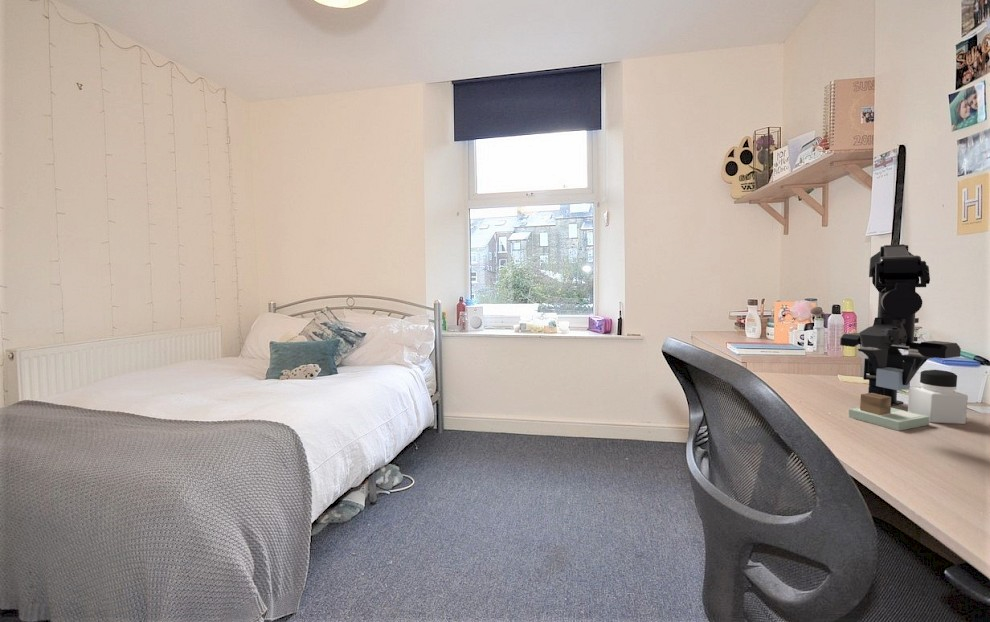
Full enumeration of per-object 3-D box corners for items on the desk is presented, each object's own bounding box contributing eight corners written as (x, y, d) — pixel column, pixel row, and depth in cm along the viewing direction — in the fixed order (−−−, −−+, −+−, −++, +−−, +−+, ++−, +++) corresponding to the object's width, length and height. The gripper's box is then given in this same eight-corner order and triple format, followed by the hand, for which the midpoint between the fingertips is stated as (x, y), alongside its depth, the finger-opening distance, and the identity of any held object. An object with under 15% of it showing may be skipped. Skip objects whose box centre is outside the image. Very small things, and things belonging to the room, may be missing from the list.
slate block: (887, 384, 93) (888, 367, 92) (909, 388, 89) (910, 370, 89) (875, 385, 91) (876, 368, 91) (897, 390, 88) (898, 372, 87)
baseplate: (877, 411, 105) (878, 404, 105) (928, 424, 95) (929, 416, 95) (848, 416, 101) (849, 408, 101) (898, 430, 92) (899, 421, 92)
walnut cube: (870, 408, 101) (871, 392, 101) (890, 413, 98) (891, 397, 97) (860, 410, 100) (860, 394, 100) (879, 415, 96) (880, 398, 96)
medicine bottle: (966, 424, 95) (970, 374, 94) (930, 422, 96) (933, 373, 96) (940, 414, 102) (943, 368, 101) (906, 413, 103) (909, 367, 103)
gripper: (825, 311, 95) (822, 376, 97) (930, 318, 78) (925, 397, 79) (857, 310, 99) (854, 372, 100) (964, 316, 81) (959, 391, 82)
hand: (892, 382), depth 90 cm, fingers closed on slate block, 4 cm apart
